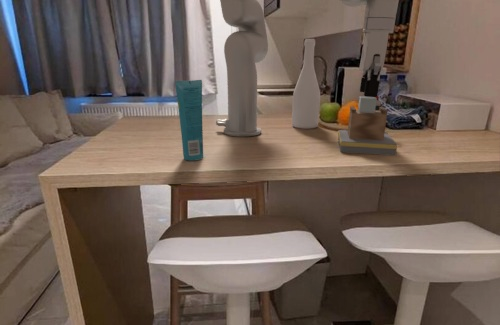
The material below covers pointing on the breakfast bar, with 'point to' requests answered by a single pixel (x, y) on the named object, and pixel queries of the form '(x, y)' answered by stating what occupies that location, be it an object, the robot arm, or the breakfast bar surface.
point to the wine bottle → (306, 92)
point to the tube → (190, 118)
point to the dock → (366, 144)
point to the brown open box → (367, 124)
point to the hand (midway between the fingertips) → (367, 94)
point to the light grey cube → (367, 104)
